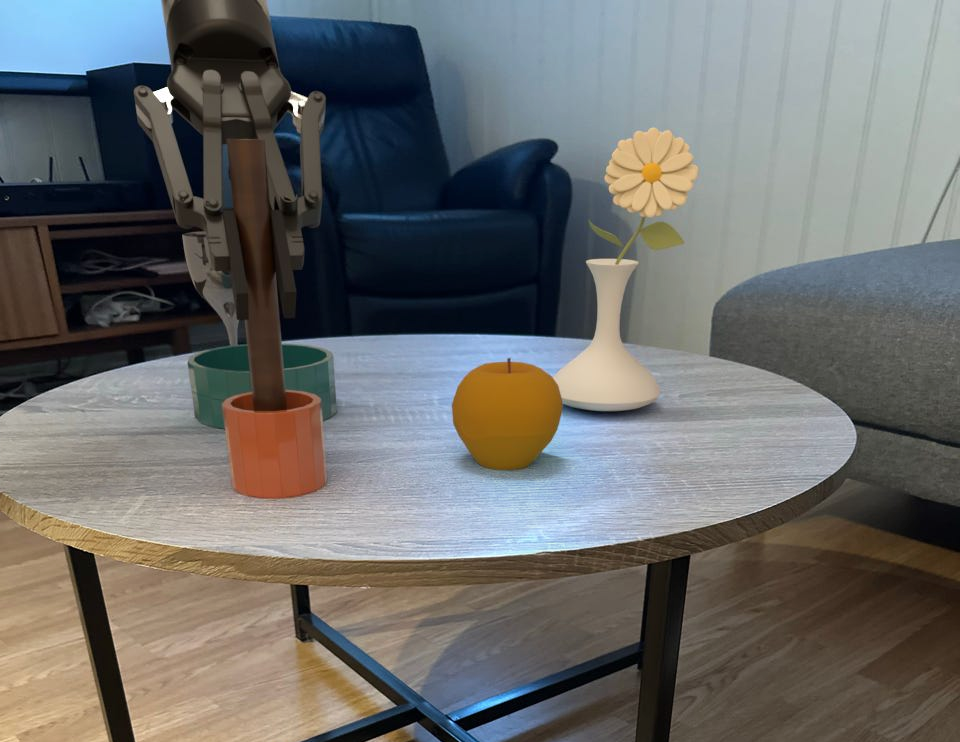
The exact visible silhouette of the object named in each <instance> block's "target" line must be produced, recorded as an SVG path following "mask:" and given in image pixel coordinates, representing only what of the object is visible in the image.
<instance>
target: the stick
mask: <svg viewBox="0 0 960 742" xmlns="http://www.w3.org/2000/svg"><path fill="white" fill-rule="evenodd" d="M226 150H227V159H228V169H229V177H230V178H229V179H230V188H231V198H232V199H231V200H232V208H233V209H232V210H235V216H236V222H237V228H238V234H239V240H240V246H241V252H242V258H243V264H244V270H245V276H246V282H247V288H248V307H249V320H244V326H245V336H246V337H245V339H246V344H247V348H248V358H249V368H250V378H251V388H252V397H253V407H254V411H281V410H287V401H286V389H285V377H284V365H283V353H282V342H283V341H282V331H281V319H280V307H279V295H278V294H279V293H278V282H277V277H276V271H275V260H274V248H273V236H272V224H271V212H270V210H271V204H270V199H269V187H268V175H267V163H266V151H265V140H264V139H227V144H226Z"/></svg>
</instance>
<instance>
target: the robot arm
mask: <svg viewBox="0 0 960 742" xmlns="http://www.w3.org/2000/svg"><path fill="white" fill-rule="evenodd" d="M160 2H161V8H162V15H163V21H164V26H165V27H164V28H165V34H166V42H167V49H168V57H169V63H170V68H171V72H170V74H169V76H168V78H167V81H166V87H164V88H161V89H159V90H156V91H153V90H152V89H151V88H150V87H149V86H146V85H137V86H136V87H135V88H134V89H133V96H134V103H135V110H136V119H137V124H138V125H139V126H140V127H141V129H142V130H143V131H144V133H145V134H146V135H147V136H148V138H149V139H150V140H151V142H152V143H153V147H154V150H155V154H156V157H157V160H158V163H159V167H160V170H161V173H162V177H163V180H164V183H165V187H166V190H167V194H168V197H169V201H170V204H171V207H172V210H173V211H172V212H173V215H174V217H175V221H176V224H177V225H178V227H180V228H181V229H184V230H189V229H192V228H193V227H195V228H199V229H201V230H202V231H205V233H206V239H207V240H208V247H209V253H210V260H211V265H212V267H213V268H214V270H215V271H229V272H230V279H231V285H232V291H233V297H234V304H235V310H236V316H237V320H239V321H245V320H249V307H248V288H247V282H246V276H245V270H244V264H243V258H242V252H241V246H240V240H239V234H238V228H237V222H236V216H235V210H234V209H224V145H227V139H264V140H265V151H266V163H267V175H268V187H269V199H270V208H271V209H270V212H271V224H272V236H273V248H274V260H275V271H276V282H277V289H278V294H279V298H280V305H281V310H282V315H283V319H296V309H297V294H298V292H297V286H296V282H295V281H296V280H295V276H294V275H295V274H294V271H302V270H303V267H304V264H305V250H306V249H305V244H304V243H305V242H304V238H303V233H302V228H304V227H307V228H310V229H316V228H318V227H319V226H320V224H321V217H322V207H323V206H322V205H323V179H322V178H323V177H322V163H321V162H322V159H321V158H322V157H321V139H320V137H321V136H322V133H323V131H324V129H325V128H324V127H325V117H326V105H327V97H326V95H325V94H324V93H323V92H321V91H318V90H314V91H312V92H310V93H309V94H308V97H307V96H304V95H301V94H299V93H296V92H294V91H292V88H291V85H290V82H289V81H288V80H287V79H286V78H285V77H284V74H283V73H282V72H281V68H280V63H279V58H278V54H277V48H276V42H275V38H274V33H273V28H272V24H271V17H270V11H269V7H268V1H267V0H160ZM173 111H176V113H178V114H179V115H180V117H182V118H183V119H184V120H185V121H186V122H188V123H189V125H191V126H192V127H193V128H194V129H195V130H196V131H197V132H198V133H199V134H200V135H202V138H203V139H202V143H203V144H202V148H203V149H202V150H203V151H202V153H203V154H202V156H203V158H202V159H203V160H202V161H203V162H202V163H203V174H202V175H203V176H202V177H203V178H202V179H203V197H199V196H195V195H194V194H193V190H192V187H191V184H190V180H189V177H188V174H187V170H186V168H185V165H184V160H183V158H182V153H181V150H180V148H179V145H178V141H177V138H176V134H175V132H174V128H173V125H172V124H173V123H174V115H173ZM287 113H289V114H290V115H291V116H292V124H293V125H294V127H295V128H296V132H297V133H298V134H300V138H299V159H300V160H299V162H300V182H301V183H300V184H301V185H300V186H301V196H299V194H298V193H296V194H295V192H294V189H293V186H292V183H291V180H290V176H289V173H288V171H287V168H286V165H285V161H284V159H283V156H282V153H281V150H280V147H279V144H278V141H277V138H276V135H275V133H274V130H275V129H276V128H277V126H278V125H279V124H280V123H281V121H282V120H283V119H284V117H285V116H286V115H287Z"/></svg>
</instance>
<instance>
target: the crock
mask: <svg viewBox="0 0 960 742" xmlns="http://www.w3.org/2000/svg"><path fill="white" fill-rule="evenodd" d="M286 401H287V410H281V411H254V407H253V397H252V392H248V393H243V394H238V395H235V396H232V397H230V398H227V399H225V401H224V402H223V403H222V409H223V417H224V425H225V429H224V433H225V439H226V447H227V449H226V450H227V457H228V464H229V473H230V481H231V487H232V488H233V490H234V491H235V492H236V493H238V494H240V495H242V496H246V497H250V498H255V499H268V500H269V499H270V500H271V499H272V500H274V499H276V500H277V499H289V498H296V497H301V496H302V497H303V496H306V495H308V494H312V493H315V492H317V491H319V490H321V489H322V488H324V487H325V486H326V484H327V480H328V474H327V473H328V472H327V458H326V447H325V445H326V444H325V432H324V421H323V417H322V404H321V398H320V397H318V396H317V395H315V394H312V393H308V392H304V391H294V390H286Z"/></svg>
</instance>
